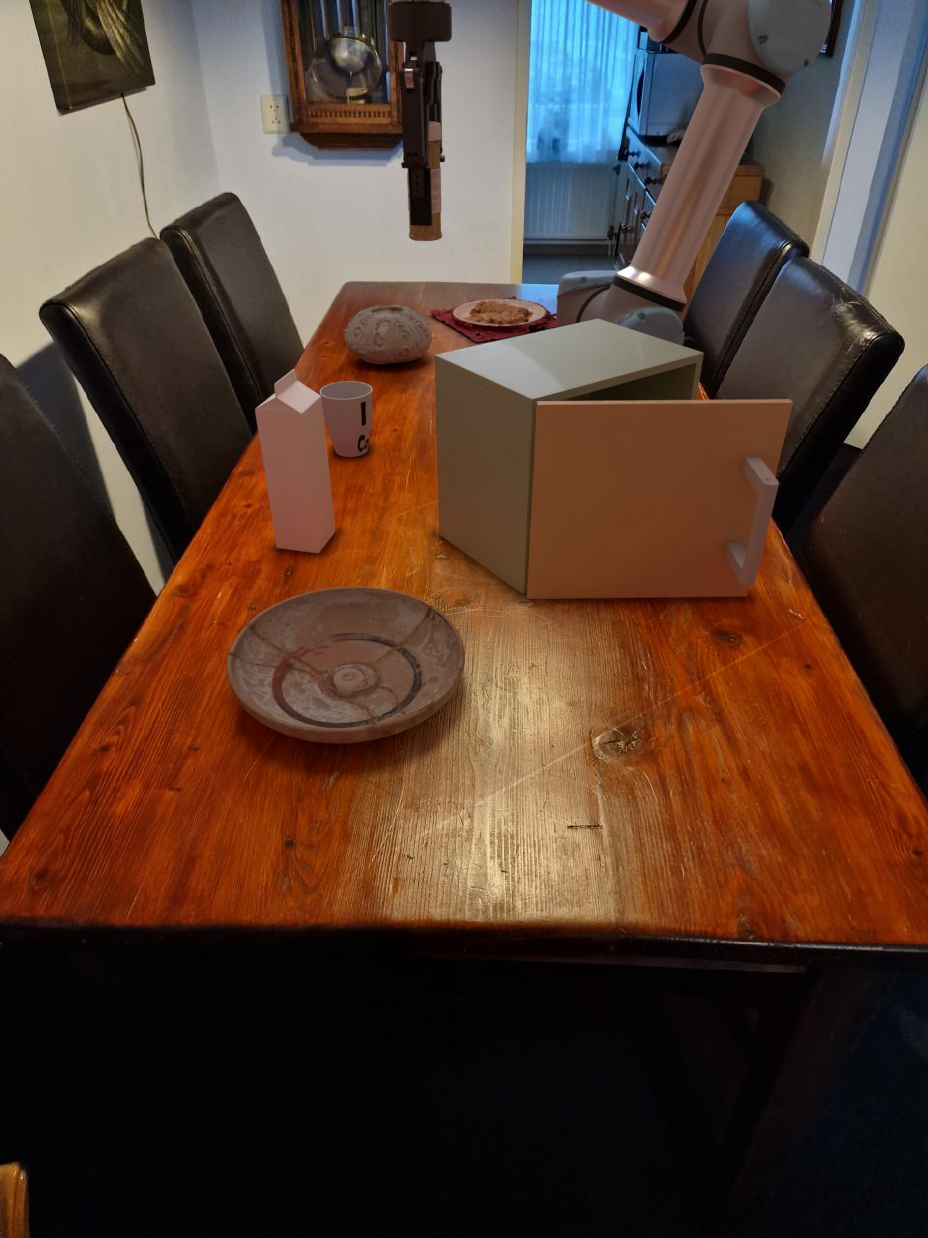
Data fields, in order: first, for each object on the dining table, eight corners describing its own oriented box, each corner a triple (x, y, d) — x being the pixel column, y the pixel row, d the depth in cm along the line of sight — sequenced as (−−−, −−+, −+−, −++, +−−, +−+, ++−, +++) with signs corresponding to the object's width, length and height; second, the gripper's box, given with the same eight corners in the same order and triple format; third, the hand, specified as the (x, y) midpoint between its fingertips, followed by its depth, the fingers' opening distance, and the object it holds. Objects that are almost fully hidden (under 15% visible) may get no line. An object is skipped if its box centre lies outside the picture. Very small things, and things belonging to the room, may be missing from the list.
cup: (368, 462, 128) (363, 400, 122) (319, 458, 129) (311, 397, 123) (382, 442, 134) (378, 382, 128) (335, 438, 135) (329, 379, 130)
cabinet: (674, 532, 109) (704, 352, 96) (523, 595, 97) (532, 399, 83) (583, 484, 121) (598, 318, 107) (438, 534, 109) (434, 354, 95)
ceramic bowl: (262, 802, 71) (253, 760, 68) (216, 651, 88) (207, 613, 85) (503, 728, 78) (504, 688, 75) (416, 602, 96) (414, 566, 93)
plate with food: (514, 303, 206) (515, 289, 204) (569, 327, 186) (570, 311, 184) (428, 316, 197) (428, 302, 195) (476, 342, 178) (476, 326, 176)
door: (765, 630, 91) (818, 428, 77) (532, 633, 91) (544, 430, 77) (744, 592, 97) (789, 398, 84) (526, 594, 97) (536, 401, 83)
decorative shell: (440, 369, 164) (439, 318, 158) (352, 377, 160) (348, 325, 155) (422, 343, 178) (421, 295, 172) (341, 350, 175) (336, 301, 169)
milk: (276, 548, 106) (248, 382, 93) (295, 526, 111) (271, 365, 98) (320, 554, 105) (297, 386, 92) (337, 531, 110) (318, 369, 97)
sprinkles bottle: (410, 235, 111) (405, 120, 103) (443, 235, 111) (441, 120, 103) (407, 242, 108) (402, 123, 100) (442, 242, 107) (439, 123, 100)
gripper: (435, -4, 87) (439, 234, 101) (464, 2, 101) (465, 211, 115) (367, -3, 88) (380, 232, 102) (405, 3, 102) (413, 209, 116)
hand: (425, 220), depth 108 cm, fingers closed on sprinkles bottle, 4 cm apart
